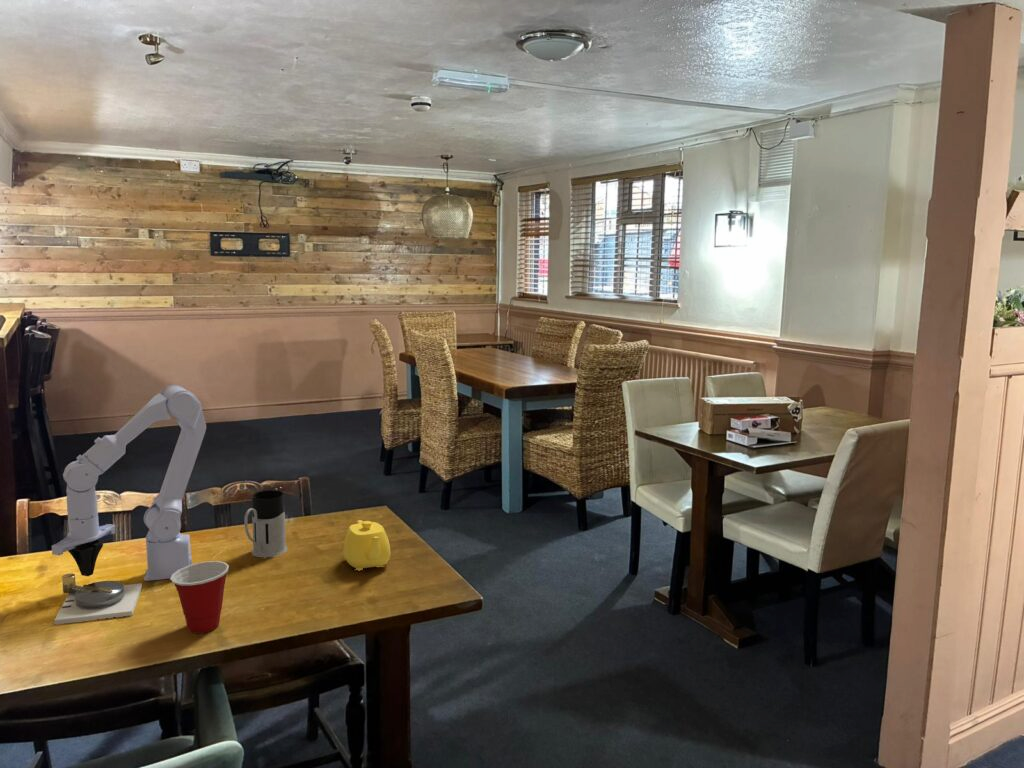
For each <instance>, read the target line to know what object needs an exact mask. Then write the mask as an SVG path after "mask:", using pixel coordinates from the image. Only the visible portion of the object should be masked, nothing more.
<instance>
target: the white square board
mask: <svg viewBox="0 0 1024 768" xmlns="http://www.w3.org/2000/svg"><path fill="white" fill-rule="evenodd" d="M123 585H124V597H123V598H122V599H121V600H119V601H118V602H116V603H113V604H111V605H108V606H104V607H98V608H82V607H79V606H77V605H76V601H75V595H74V594H70V593H68V595H67V596H66V598H65V600H64V602H63V604H62V606H61V608H60V609H59V610H58V612H57V615H56V617H55V618H54V620H53V623H54V626H55V625H62V624H63V625H64V623H65V624H73V623H82V622H89V621H90V620H91V621H98V620H97V619H99V620H105V619H106V618H108V619H114V618H113V617H116V618H123V617H124V616H125V617H132V616H133V615H134V611H135V609H136V605H137V603H138V600H139V597H140V594H141V591H142V588H143V584H142V583H134V584H133V583H132V584H123ZM106 620H107V619H106ZM91 621H90V622H91Z"/></svg>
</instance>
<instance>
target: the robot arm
mask: <svg viewBox="0 0 1024 768" xmlns="http://www.w3.org/2000/svg"><path fill="white" fill-rule="evenodd" d="M202 407H203V405H202V403H201V401H200V400H199V399H198V398H197V396H196V395H195V394H194V393H193V392H191V391H189V390H187V389H185V387H183V386H181V385H178V384H172V385H168V386H166V387H165V388H164V389H163V390H162V391H161V392H160V393H157V394H156V395H154V396H153V397H152V398H151V399H150V400H149V401H148V402H147V403H146V404H145V405H144V406H143V407H142V408H141V409H140V410H139V411H138V412H136V414H135V415H134V416H133V417H131V419H129V420H128V421H127V422H126V423H125V424H124V425H123V426H122V427H121V428H120V429H119V430H118V431H116V433H114V434H110V435H108V434H106V435H103V437H101V438H100V437H99V436H98V437H97V438H96V439H94V441H93V442H94V444H93V445H92V446H90V448H88V450H86V452H84V453H83V454H82V455H81V454H79V455H78V456H77V457H76V460H75V461H72V462H70V463H69V464H67V465H66V466H65V468H64V471H63V474H62V476H63V477H62V478H63V480H64V482H65V483H66V490H65V491H66V497H65V498H66V512H67V523H68V533H67V536H66V537H65V538H63V539H62V540H60V541H58V542H57V543H55V544H52V545H51V554H52V555H54V556H62V555H63V554H64V553H65V552H68V553H69V554H70V555H71V556H72V557H73V559H74V561H75V563H76V565H77V567H78V570H79V573H80V575H81V576H85V577H90V576H93V574H94V571H95V567H96V562H97V559H98V556H99V554H100V553H101V550H102V548H103V547H104V542H103V541H102V540H99V539H101V538H104V537H105V536H108V535H113V534H116V525H115V524H111V523H106V524H105V525H104V524H103V525H100V523H99V522H100V521H99V510H98V509H99V508H98V495H97V492H96V485H97V483H98V481H99V476H100V475H103V474H104V473H105V472H106V471H107V470H108V469H110V468H112V466H113V465H114V464H115V463H116V462H117V461H118V460H120V459H121V458H122V457H123V456H124V455H125V454H126V450H127V449H126V447H127V445H128V444H129V443H130V442H132V441H133V440H135V438H137V437H138V436H139V435H140V434H142V433H143V432H144V431H145V430H146V429H148V428H149V427H150V426H151V425H152V424H153V423H155V422H159V421H167V420H168V421H169V420H171V419H172V418H171V416H170V415H172V416H173V417H174V419H175V420H176V422H177V424H178V425H179V427H180V433H179V436H178V438H177V442H176V443H175V447H174V451H173V453H172V456H171V458H170V462H169V464H168V467H167V471H166V473H165V477H164V480H163V482H162V485H161V488H160V491H159V493H158V494H157V495H156V496H155V497H154V499H153V502H152V505H150V507H149V508H147V510H146V511H145V513H144V515H143V522H144V525H145V526H146V527H147V528H148V532H147V534H146V535H145V544H146V545H145V548H146V562H147V563H146V564H147V565H146V566H147V570H146V572H145V575H144V579H143V581H144V582H147V581H148V582H150V581H160V580H167V579H168V580H171V579H170V578H171V576H172V574H173V573H175V572H176V571H177V570H179V569H181V568H184V567H186V566H189V565H192V564H193V557H192V552H191V551H192V550H191V549H192V548H191V546H192V545H191V537H190V534H182V533H181V528H182V522H181V515H182V513H183V498H184V496H185V492H186V489H187V486H188V484H189V480H190V477H191V474H192V471H193V470H194V466H195V464H196V463H195V462H196V460H197V458H198V454H199V452H200V449H201V446H202V442H203V440H204V437H205V434H206V430H207V423H206V419H205V417H204V416H205V415H204V413H203V409H202Z"/></svg>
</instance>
